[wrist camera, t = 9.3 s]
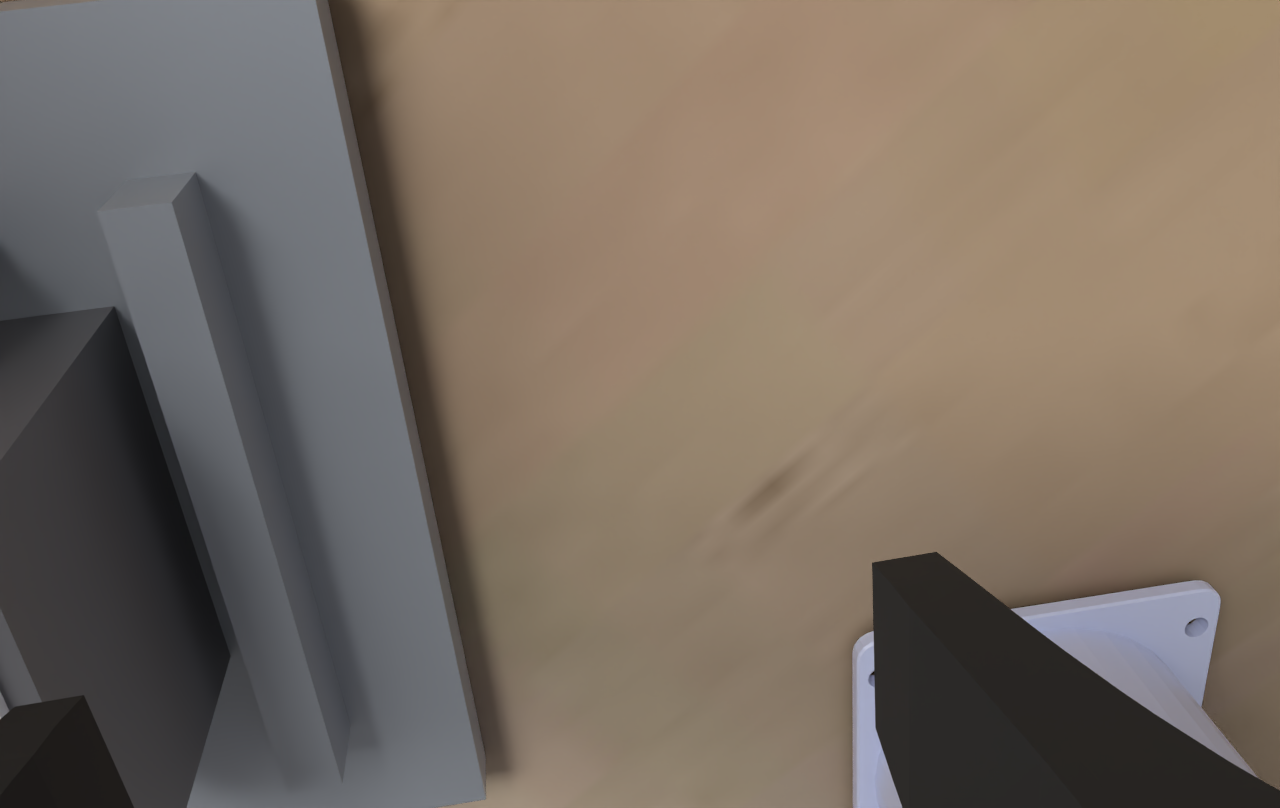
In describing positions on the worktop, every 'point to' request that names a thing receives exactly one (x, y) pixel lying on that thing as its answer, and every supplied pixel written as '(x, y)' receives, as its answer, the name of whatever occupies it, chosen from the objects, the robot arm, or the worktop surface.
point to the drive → (100, 556)
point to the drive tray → (251, 373)
